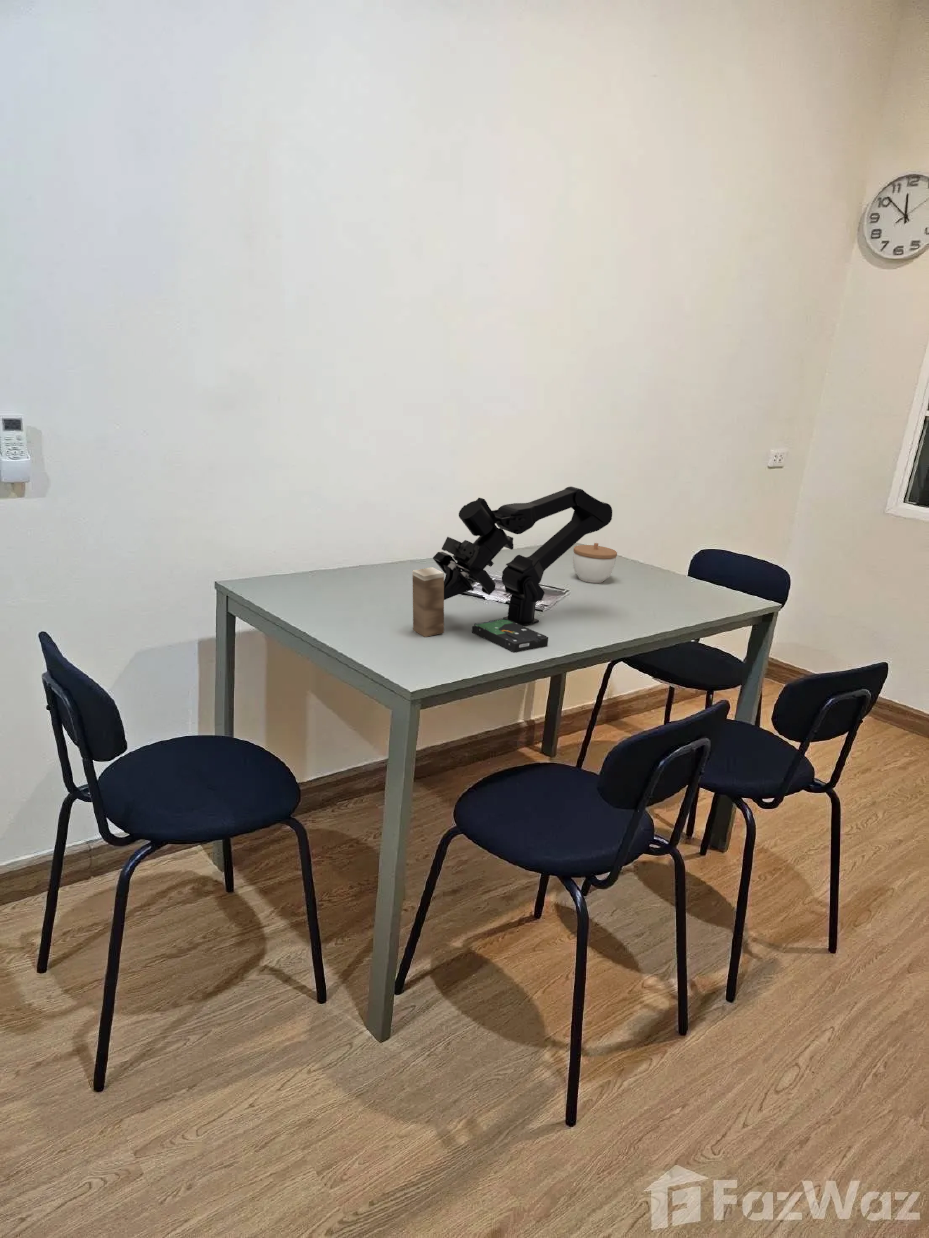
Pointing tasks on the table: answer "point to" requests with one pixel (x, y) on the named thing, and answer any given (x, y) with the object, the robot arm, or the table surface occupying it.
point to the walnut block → (428, 601)
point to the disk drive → (510, 635)
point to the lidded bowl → (593, 562)
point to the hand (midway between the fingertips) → (438, 599)
